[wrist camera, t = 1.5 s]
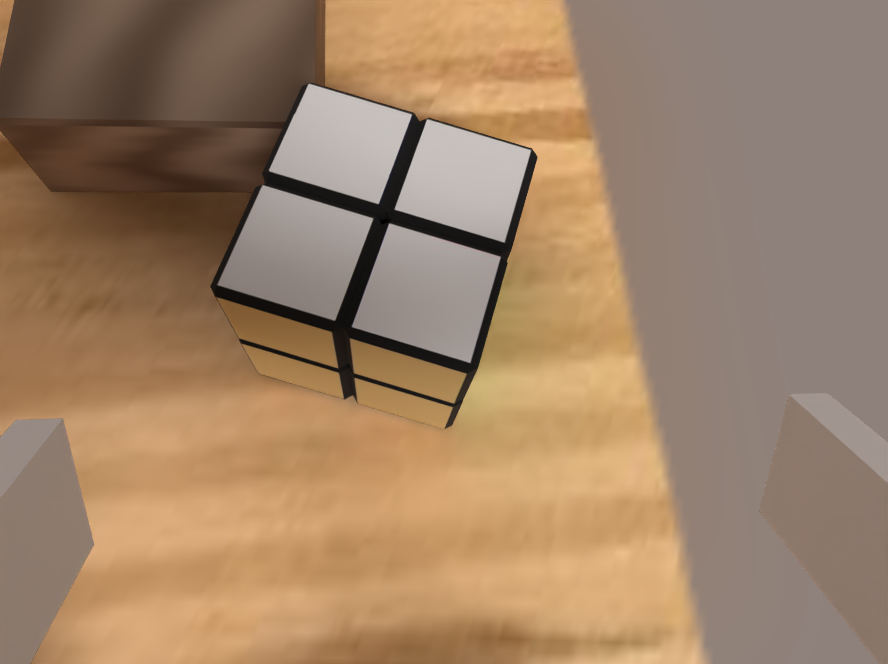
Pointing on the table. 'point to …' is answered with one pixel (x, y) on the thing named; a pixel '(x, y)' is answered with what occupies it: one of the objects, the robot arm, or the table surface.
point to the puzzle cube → (374, 254)
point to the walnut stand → (155, 89)
